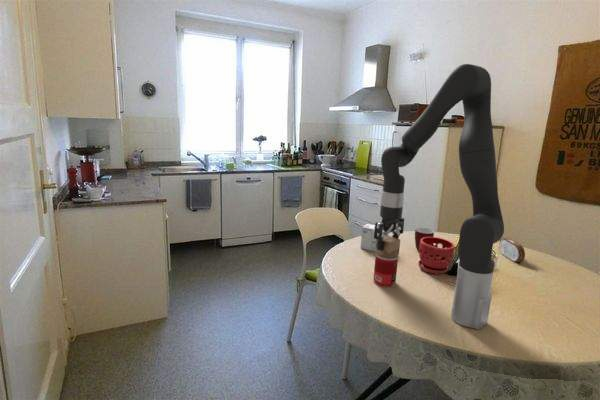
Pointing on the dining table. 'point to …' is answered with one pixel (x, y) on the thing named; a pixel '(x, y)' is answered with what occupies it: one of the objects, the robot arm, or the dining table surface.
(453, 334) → the dining table surface
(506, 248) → the tin
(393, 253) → the walnut block
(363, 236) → the light bulb box
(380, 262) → the canned food
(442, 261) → the plant pot
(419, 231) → the mug
